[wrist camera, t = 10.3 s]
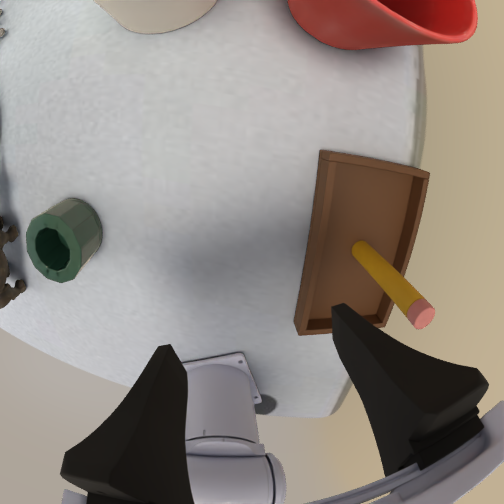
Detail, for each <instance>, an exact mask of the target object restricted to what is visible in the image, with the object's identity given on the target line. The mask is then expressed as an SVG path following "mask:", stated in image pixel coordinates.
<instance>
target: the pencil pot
mask: <svg viewBox="0 0 504 504" xmlns="http://www.w3.org/2000/svg"><path fill="white" fill-rule="evenodd" d="M101 240H102V227H101V223H100V220H99V218H98V216H97V214H96V212H95V211H94V210H93V208H92V207H91V206H90V205H88V204H87V203H86V202H84V201H82V200H79V199H75V198H70V199H66V200H63V201H62V202H60V203H58V204H56V205H54V206H52V207H51V208H49V209H47V210H46V211H44V212H43V213H41V214H39V215H38V216H36V217H35V218H33V219H32V220H31V223H30V225H29V227H28V230H27V232H26V243H27V252H28V254H29V256H30V258H31V260H32V263H33V265H34V266H35V268H36V269H37V270H39V271H40V272H41V273H42V274H43V275H44V276H45V277H46V278H47V279H50V280H53V281H56V282H59V283H63V282H67V281H70V280H73V279H75V277H76V276H77V275H78V274H79V272H80V271H81V270H82V269H83V267H84V266H85V265H86V264H87V263H88V261H89V260H90V259H91V258H92V256H93V255H94V253H95V252H96V251H97V250H98V248H99V246H100V244H101Z"/></svg>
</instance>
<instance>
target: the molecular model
mask: <svg viewBox="0 0 504 504" xmlns="http://www.w3.org/2000/svg"><path fill="white" fill-rule="evenodd" d="M1 13H2V9H0V15H1ZM4 33H5V29H3V28H1V29H0V37H2V36H3V35H4Z"/></svg>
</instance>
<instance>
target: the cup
mask: <svg viewBox="0 0 504 504" xmlns="http://www.w3.org/2000/svg"><path fill="white" fill-rule="evenodd" d="M93 1H95V2H96V3H97V4H98V5H99V6H100V7H101V8H103V9H104V10H105V11H106V12H107V13H108V14H109V15H110V16H112V17H113V18H114V19H115V20H116V21H117V22H118V23H119V24H120V25H121V26H123V27H124V28H126V29H128V30H130V31H133V32H137V33H142V34H157V33H164V32H169V31H173V30H176V29H179V28H182V27H184V26H186V25H188V24H190V23H192V22H194V21H196V20H197V19H199V18H200V17H202V16H203V15H204V14H206V13H207V12H208V11H209V10H210V9H211V8H212V7H213V6H214V4H215V3H216V1H217V0H93Z"/></svg>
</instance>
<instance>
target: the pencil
mask: <svg viewBox="0 0 504 504" xmlns="http://www.w3.org/2000/svg"><path fill="white" fill-rule="evenodd" d="M352 255H353V256H354V257H355V258H356V260H357V261H358V262H359V263H360V264H361V265H362V266H363V267H364V268H365V269H366V271H367V272H368V273H369V274H370V275H371V276H372V277H373V278H374V280H375V281H376V282H377V283H378V284H379V285H380V286H381V288H382V289H383V290H384V291H385V292H386V293H387V294H388V296H389V297H390V298H391V299H392V300H393V302H394V303H395V304H396V305H397V306H398V307H399V309H400V310H401V311H402V312H403V314H404V315H405V316H406V317H407V318H408V320H409V321H410V322H411V323H412V325H413V326H414V327H415V328H416V329H422V328H424V327H426V326H427V325H428V324H429V323H430V322H431V321H432V319H433V318H434V315H435V309H434V308H433V307H432V306H431V304H430V303H428V302H427V300H426V299H425V298H424V297H423V296H422V295H421V294H420V293H419V292H418V291H417V290H416V289H415V288H414V287H413V286H412V285H411V284H410V283H409V282H408V281H407V280H406V279H405V278H404V277H403V276H402V275H401V274H400V273H399V272H398V271H397V270H396V269H395V268H394V267H393V266H391V265H390V264H389V263H388V262H387V261H386V260H385V259H384V258H383V257H382V256H381V255H380V254H379V253H378V252H376V251H375V250H374V249H373V248H372V247H371V246H370V245H369V244H368V243H367V242H365V241H358V242H356V243H355V244H354V245H353V247H352Z"/></svg>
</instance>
